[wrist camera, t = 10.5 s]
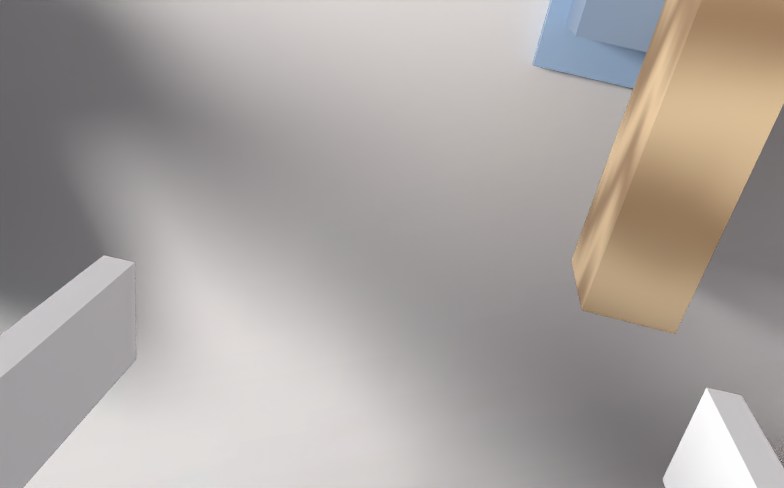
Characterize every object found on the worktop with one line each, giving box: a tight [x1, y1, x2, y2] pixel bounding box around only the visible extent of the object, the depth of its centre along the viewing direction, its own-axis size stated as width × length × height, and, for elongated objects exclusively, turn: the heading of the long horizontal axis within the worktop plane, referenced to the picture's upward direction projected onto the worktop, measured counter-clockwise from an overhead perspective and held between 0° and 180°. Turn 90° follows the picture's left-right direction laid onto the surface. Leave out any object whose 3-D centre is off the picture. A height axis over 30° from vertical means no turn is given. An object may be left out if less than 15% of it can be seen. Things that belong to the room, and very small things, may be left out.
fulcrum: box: [533, 0, 665, 89], centre depth 29 cm, size 12×8×6 cm, turn 78°
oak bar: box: [571, 0, 784, 334], centre depth 24 cm, size 24×4×5 cm, turn 168°
